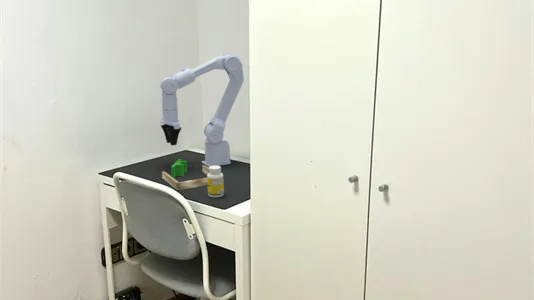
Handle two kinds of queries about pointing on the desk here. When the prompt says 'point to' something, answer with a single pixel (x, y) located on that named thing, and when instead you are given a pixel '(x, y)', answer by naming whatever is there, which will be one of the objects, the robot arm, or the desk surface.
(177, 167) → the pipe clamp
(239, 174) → the desk surface
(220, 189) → the supplement bottle
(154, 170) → the desk surface
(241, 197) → the desk surface
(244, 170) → the desk surface
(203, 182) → the birch bay
